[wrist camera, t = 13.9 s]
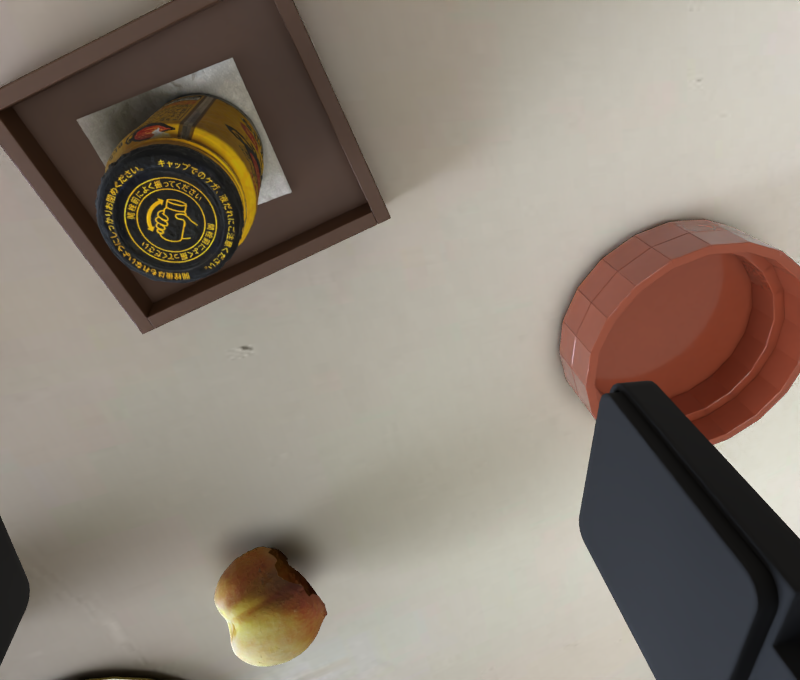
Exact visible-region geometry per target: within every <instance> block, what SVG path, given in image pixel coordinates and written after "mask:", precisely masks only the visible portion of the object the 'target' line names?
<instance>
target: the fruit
mask: <svg viewBox="0 0 800 680" xmlns="http://www.w3.org/2000/svg"><path fill="white" fill-rule="evenodd" d="M214 600H215V604H216V607H217V609H218V611H219V612H220V614H221V615H222V616H223V617H224V618H225V619H226V620H227V622H228V625H229V630H230V636H231V645H232V649H233V651H234V653H235V654H236V655H237V657H239V658H240V659H241V660H243V661H244V662H246V663H249V664H251V665H255V666H274V665H278V664H282V663H285V662H287V661H290V660H291V659H293V658H295V657H296V656H298V655H300V654H301V653H302V652H303V651H305V650H306V649H307V648H308V646H309V645H310V644H311V643H312V642H313V640H314V639H315V637H316V635H317V634H318V631H319V629H320V626H321V623H322V622H323V619H324V617H325V616H326V615H327V611H326V608H325V604H324V603H323V602H322V600H321V599H320V597H319V596H318V595H317V594H316V592H315V591H314V589H313V588H312V587H311V586H310V584H309V583H308V582H307V581H306V579H305V578H304V577H303V576H302V575H301V574H300V572H298V571H296V570H295V569H294V568H292V567H291V566H290V565H289V564H288V561H287V557H286V556H285V555H284V554H283V553H282V552H281V551H279V550H277V549H274V548H267V547H257V548H255V549H253V550H251V551H248V552H247V553H245V554H243V555H242V556H241V557H239V558H237V559H235V560H234V561H233V562H232V563H231V564H230V566H229V567H228V568H227V569H226V570H225V571H224V573H223V575H222V576H221V578H220V580H219V582H218V584H217V587H216V590H215V596H214Z"/></svg>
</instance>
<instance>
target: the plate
mask: <svg viewBox="0 0 800 680" xmlns="http://www.w3.org/2000/svg"><path fill="white" fill-rule="evenodd" d="M87 680H154V679H149V678H133V677H105V678H96V679H87Z"/></svg>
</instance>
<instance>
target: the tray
mask: <svg viewBox="0 0 800 680" xmlns="http://www.w3.org/2000/svg"><path fill="white" fill-rule="evenodd" d="M232 57H233V60H234V62H235V64H236V67H237V69H238V71H239V73H240V76H241V78H242V80H243V83H244V85H245V87H246V90H247V91H248V93H249V96H250V98H251V100H252V102H253V105H254V107H255V109H256V111H257V114H258V116H259V118H260V120H261V123H262V125H263V127H264V129H265V132H266V134H267V136H268V138H269V141H270V143H271V145H272V148H273V150H274V152H275V154H276V157H277V159H278V161H279V164H280V166H281V168H282V170H283V173H284V175H285V177H286V180H287V182H288V184H289V186H290V189H291V191H292V192H291V193H288V194H285V195H283V196H280V197H277V198H275V199H272V200H270V201H267V202H264V203H262V204H259V205H258V207H257V212H256V216H255V220H254V222H253V225H252V226H251V229H250V231H249V233H248V235H247V237H246V238H245V240H244V241H243V242H242V243H241V244H240V245H239V246H238V247H237V250H236V251H235V253H234V254H233V256H232V258H231V259H230V260H228V261H227V262H225V264H224V266H223V267H221V269H220V270H218V271H217V272H215V273H213V274H211V275H209V276H207V277H205V278H201V279H199V280H196V281H193V282H188V283H173V282H162V281H154V280H151V279H149V278H147V277H145V276H143V275H141V274H139V273H137V272H135V271H133V270H131V269H129V268H128V267H127V266H126V265H124V264H123V262H122V261H120V260H119V259H118V258H117V257H116V256H115V254H114V253H113V252H112V251H111V250H110V248H109V246H108V244H107V243H106V241H105V240H104V238H103V236H102V234H101V231H100V229H99V227H98V223H97V217H96V213H97V209H96V207H95V200H96V198H97V189H98V186H99V185H100V184H101V177H103V175H104V173H105V168H106V167H105V165H104V164H103V162H102V160H101V159H100V157H99V155H98V154H97V152H96V150H95V149H94V147H93V146H92V144H91V142H90V140H89V139H88V137H87V136H86V134H85V133H84V132H83V130H82V128H81V126H80V125H79V123H78V122H77V119H80V118H82V117H85V116H87V115H90V114H92V113H95V112H97V111H100V110H102V109H105V108H107V107H109V106H112V105H114V104H117V103H120V102H122V101H124V100H127V99H130V98H132V97H135V96H137V95H140V94H142V93H145V92H147V91H150V90H152V89H155V88H157V87H160V86H162V85H165V84H167V83H170V82H172V81H174V80H177V79H180V78H182V77H185V76H187V75H190V74H192V73H195V72H197V71H200V70H202V69H205V68H207V67H210V66H212V65H215V64H217V63H220V62H222V61H225V60H227V59H230V58H232ZM0 145H1V147H2V148H3V149H4V151H5V152H6V153H7V155H8V156H9V157H10V159H11V160H12V161H13V163H14V164H15V165H16V167H17V168H18V169H19V171H20V172H21V173H22V175H23V176H24V177H25V179H26V180H27V181H28V183H29V184H30V185H31V187H32V188H33V189H34V191H35V192H36V193H37V195H38V196H39V197H40V199H41V200H42V201H43V203H44V204H45V205H46V207H47V208H48V209H49V211H50V212H51V213H52V215H53V216H54V217H55V219H56V220H57V221H58V222H59V224H60V225H61V226H62V228H63V229H64V230H65V232H66V233H67V234H68V236H69V237H70V238H71V240H72V241H73V242H74V244H75V245H76V246H77V248H78V249H79V250H80V252H81V253H82V254H83V256H84V257H85V258H86V260H87V261H88V262H89V264H90V265H91V266H92V268H93V269H94V270H95V272H96V273H97V274H98V276H99V277H100V278H101V280H102V281H103V282H104V284H105V285H106V286H107V288H108V289H109V290H110V292H111V293H112V294H113V296H114V297H115V298H116V300H117V301H118V302H119V304H120V305H121V306H122V308H123V309H124V310H125V312H126V313H127V314H128V315H129V317H130V318H131V319H132V321H133V322H134V323H135V325H136V326H137V327H138V329H139V330H140V331H141V333H142V334H144V333H147V332H149V331H151V330H153V329H155V328H157V327H159V326H161V325H163V324H166V323H168V322H170V321H172V320H174V319H176V318H178V317H181V316H183V315H185V314H187V313H189V312H191V311H193V310H196V309H198V308H200V307H202V306H204V305H206V304H208V303H210V302H213V301H215V300H217V299H219V298H221V297H223V296H225V295H228V294H230V293H232V292H234V291H236V290H238V289H240V288H242V287H245V286H247V285H249V284H251V283H253V282H255V281H257V280H260V279H262V278H264V277H266V276H268V275H270V274H272V273H274V272H277V271H279V270H281V269H283V268H285V267H287V266H289V265H292V264H294V263H296V262H298V261H300V260H302V259H304V258H306V257H309V256H311V255H313V254H315V253H317V252H319V251H321V250H324V249H326V248H328V247H330V246H332V245H334V244H336V243H338V242H341V241H343V240H345V239H347V238H349V237H351V236H353V235H356V234H358V233H360V232H362V231H364V230H366V229H368V228H371V227H373V226H375V225H377V223H378V224H379V223H381V222H383V221H386V220H388V219H390V218H391V217H390V215H389V212H388V210H387V208H386V206H385V204H384V201H383V199H382V197H381V195H380V192H379V190H378V188H377V186H376V184H375V181H374V179H373V177H372V175H371V173H370V170H369V168H368V166H367V164H366V161H365V159H364V157H363V155H362V153H361V150H360V148H359V146H358V144H357V142H356V139H355V137H354V135H353V133H352V130H351V128H350V126H349V124H348V122H347V119H346V117H345V115H344V113H343V111H342V108H341V106H340V104H339V102H338V99H337V97H336V95H335V93H334V91H333V88H332V86H331V84H330V82H329V80H328V77H327V75H326V73H325V71H324V68H323V66H322V64H321V62H320V60H319V57H318V55H317V53H316V51H315V48H314V46H313V44H312V42H311V40H310V37H309V35H308V33H307V31H306V29H305V26H304V24H303V22H302V20H301V17H300V15H299V13H298V11H297V9H296V6H295V4H294V2H293V0H173V1H171V2H169V3H167V4H165V5H163V6H161V7H159V8H157V9H155V10H153V11H151V12H149V13H147V14H145V15H143V16H141V17H139V18H137V19H135V20H133V21H131V22H129V23H127V24H125V25H123V26H121V27H119V28H117V29H115V30H113V31H111V32H109V33H107V34H106V35H104V36H102V37H100V38H98V39H96V40H94V41H92V42H90V43H88V44H86V45H84V46H82V47H80V48H78V49H76V50H74V51H72V52H70V53H68V54H66V55H64V56H62V57H60V58H58V59H56V60H54V61H52V62H50V63H48V64H46V65H44V66H42V67H40V68H38V69H36V70H34V71H32V72H30V73H28V74H26V75H24V76H22V77H20V78H18V79H17V80H15V81H13V82H11V83H9V84H7V85H5V86H3V87H1V88H0Z"/></svg>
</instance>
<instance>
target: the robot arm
mask: <svg viewBox="0 0 800 680" xmlns="http://www.w3.org/2000/svg"><path fill="white" fill-rule="evenodd" d="M579 527H580V532H581V535H582V538H583V541H584V543H585V545H586V547H587V549H588V550H589V552H590V554H591V556H592V558H593V560H594V562H595V564H596V566H597V568H598V570H599V571H600V573H601V575H602V577H603V579H604V581H605V583H606V585H607V587H608V589H609V591H610V592H611V594H612V596H613V598H614V600H615V602H616V604H617V606H618V608H619V610H620V612H621V613H622V615H623V617H624V619H625V621H626V623H627V625H628V627H629V629H630V631H631V633H632V634H633V636H634V638H635V640H636V642H637V644H638V646H639V648H640V650H641V652H642V654H643V656H644V657H645V659H646V661H647V663H648V665H649V667H650V669H651V671H652V673H653V675H654V677H655V678H656V680H800V539H799V538H798V536H797V535H796V534H795V533H794V532H793V531H792V530H791V529H790V528H789V527H788V526H787V525H786V523H785V522H784V521H783V520H782V519H781V518H780V517H779V516H778V515H777V514H776V513H775V512H774V511H773V509H772V508H771V507H770V506H769V505H768V504H767V503H766V502H765V501H764V500H763V499H762V498H761V497H760V495H759V494H758V493H757V492H756V491H755V490H754V489H753V488H752V487H751V486H750V485H749V484H748V482H747V481H746V480H745V479H744V478H743V477H742V476H741V475H740V474H739V473H738V472H737V471H736V470H735V468H734V467H733V466H732V465H731V464H730V463H729V462H728V461H727V460H726V459H725V458H724V457H723V455H722V454H721V453H720V452H719V451H718V450H717V449H716V448H715V447H714V446H713V445H712V444H711V443H710V441H709V440H708V439H707V438H706V437H705V436H704V435H703V434H702V433H701V432H700V431H699V430H698V429H697V427H696V426H695V425H694V424H693V423H692V422H691V421H690V420H689V419H688V418H687V417H686V416H685V414H684V413H683V412H682V411H681V410H680V409H679V408H678V407H677V406H676V405H675V404H674V403H673V402H672V400H671V399H670V398H669V397H668V396H667V395H666V394H665V393H664V392H663V391H662V390H661V389H660V387H659V386H658V385H657V384H655V383H654V382H653V381H637V382H626V383H616V384H614V385H613V386H612V388H611V389H610V392H609V393H605V394H603V395H602V397H601V399H600V402H599V408H598V413H597V419H596V425H595V430H594V436H593V442H592V447H591V453H590V459H589V464H588V470H587V476H586V481H585V487H584V493H583V498H582V504H581V510H580V515H579ZM29 593H30V588H29V582H28V579H27V576H26V574H25V572H24V569H23V567H22V565H21V562H20V560H19V558H18V556H17V553H16V551H15V549H14V546H13V544H12V542H11V539H10V537H9V535H8V533H7V530H6V528H5V526H4V523H3V521H2V519H1V516H0V665H1V663H2V661H3V659H4V656H5V654H6V652H7V650H8V647H9V645H10V643H11V641H12V639H13V636H14V634H15V632H16V630H17V627H18V625H19V623H20V621H21V619H22V616H23V614H24V612H25V610H26V607H27V604H28V601H29Z"/></svg>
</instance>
